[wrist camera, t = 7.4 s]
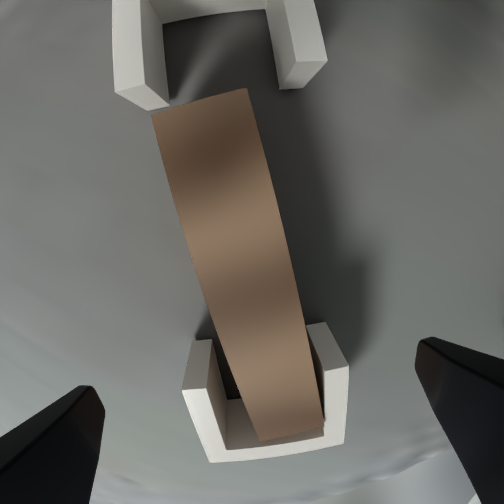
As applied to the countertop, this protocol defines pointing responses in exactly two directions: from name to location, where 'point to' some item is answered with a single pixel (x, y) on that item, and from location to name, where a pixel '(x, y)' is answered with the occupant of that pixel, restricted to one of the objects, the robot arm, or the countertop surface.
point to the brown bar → (241, 257)
